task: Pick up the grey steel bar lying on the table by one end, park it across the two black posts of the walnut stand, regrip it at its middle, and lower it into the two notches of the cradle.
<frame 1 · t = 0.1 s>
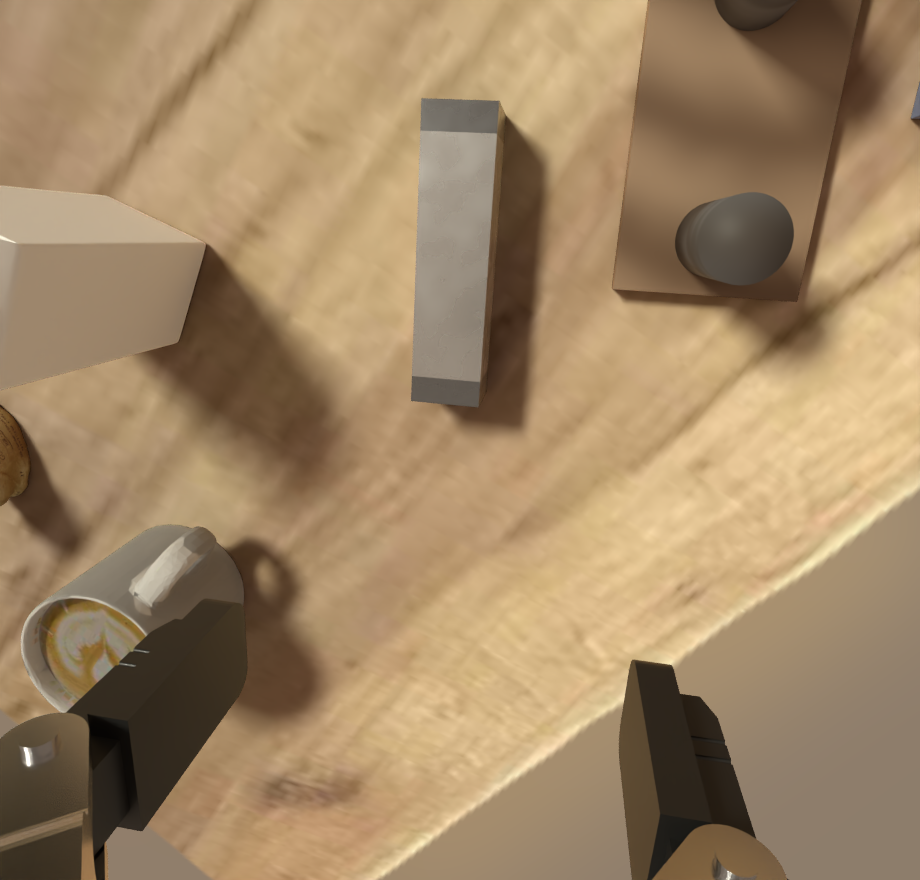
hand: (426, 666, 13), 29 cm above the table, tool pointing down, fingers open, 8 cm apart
milk carton: (147, 271, 42), on the table
coffee mug: (198, 570, 49), on the table
steel bar: (462, 260, 39), on the table
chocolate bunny: (5, 451, 48), on the table
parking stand: (727, 123, 34), on the table
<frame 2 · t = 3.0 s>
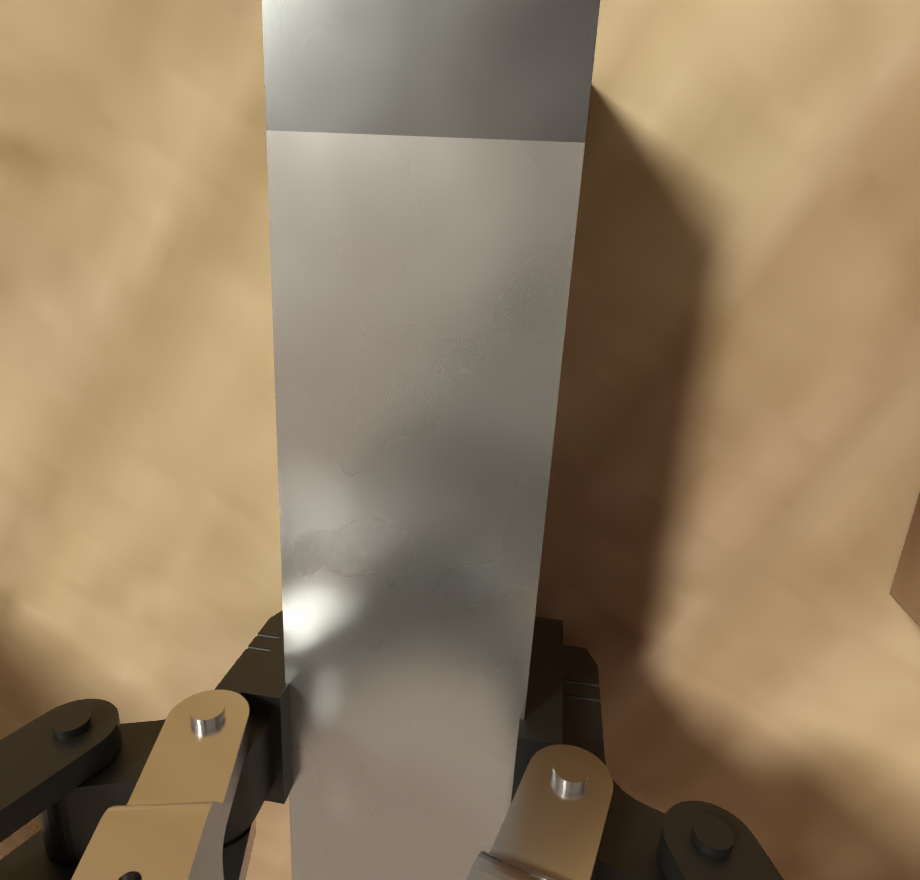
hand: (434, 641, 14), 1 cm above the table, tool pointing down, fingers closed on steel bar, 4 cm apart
steel bar: (449, 498, 14), on the table, touching gripper
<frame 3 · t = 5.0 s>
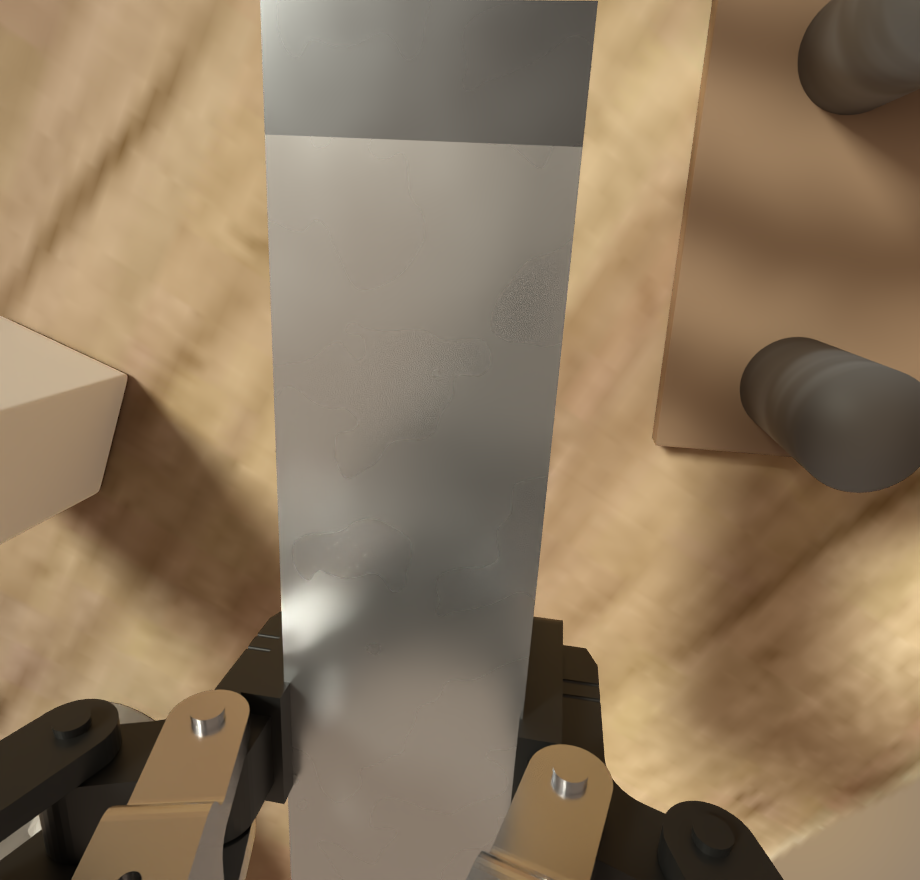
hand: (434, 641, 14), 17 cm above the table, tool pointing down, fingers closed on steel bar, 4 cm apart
milk carton: (57, 405, 33), on the table
coffee mug: (137, 752, 40), on the table
steel bar: (448, 500, 14), point 16 cm above the table, touching gripper
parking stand: (811, 232, 25), on the table
when the fingers open (10 cm above the table, at t = 7.4 s): steel bar drops 1 cm, resting on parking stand.
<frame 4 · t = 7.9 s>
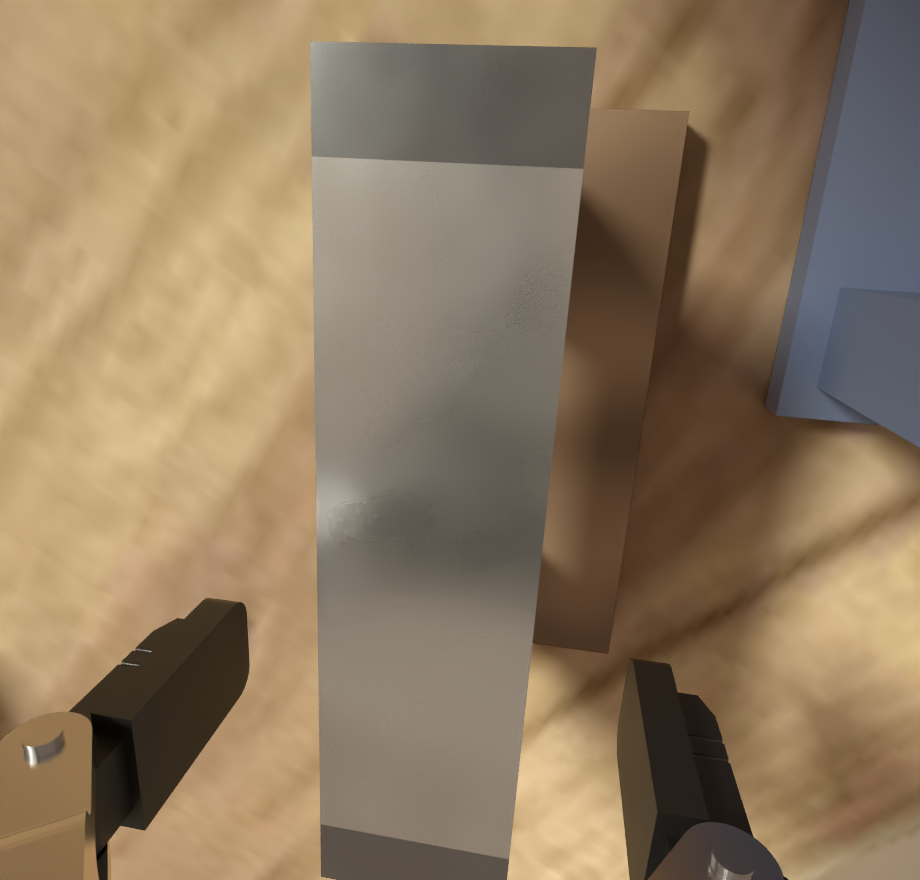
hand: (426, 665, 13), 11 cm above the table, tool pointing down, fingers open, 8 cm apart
steel bar: (460, 481, 15), point 8 cm above the table, touching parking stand
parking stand: (494, 396, 23), on the table
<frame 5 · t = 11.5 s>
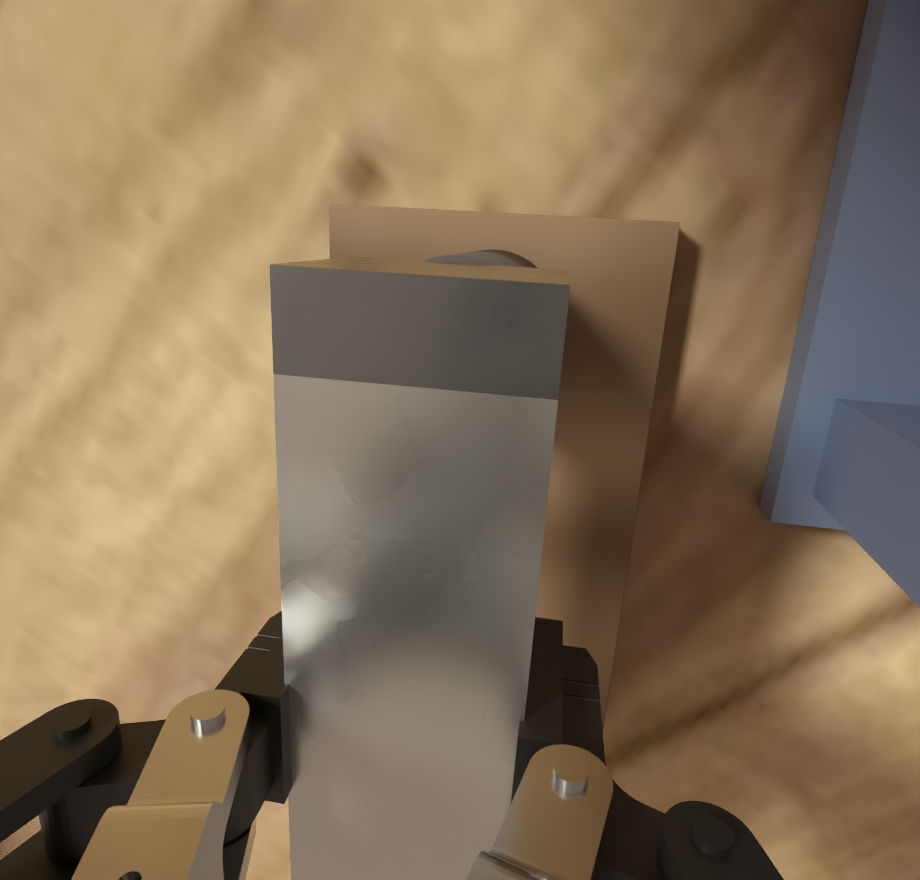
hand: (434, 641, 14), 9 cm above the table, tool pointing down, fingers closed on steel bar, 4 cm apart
steel bar: (442, 627, 15), point 8 cm above the table, touching gripper, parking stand
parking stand: (482, 490, 22), on the table
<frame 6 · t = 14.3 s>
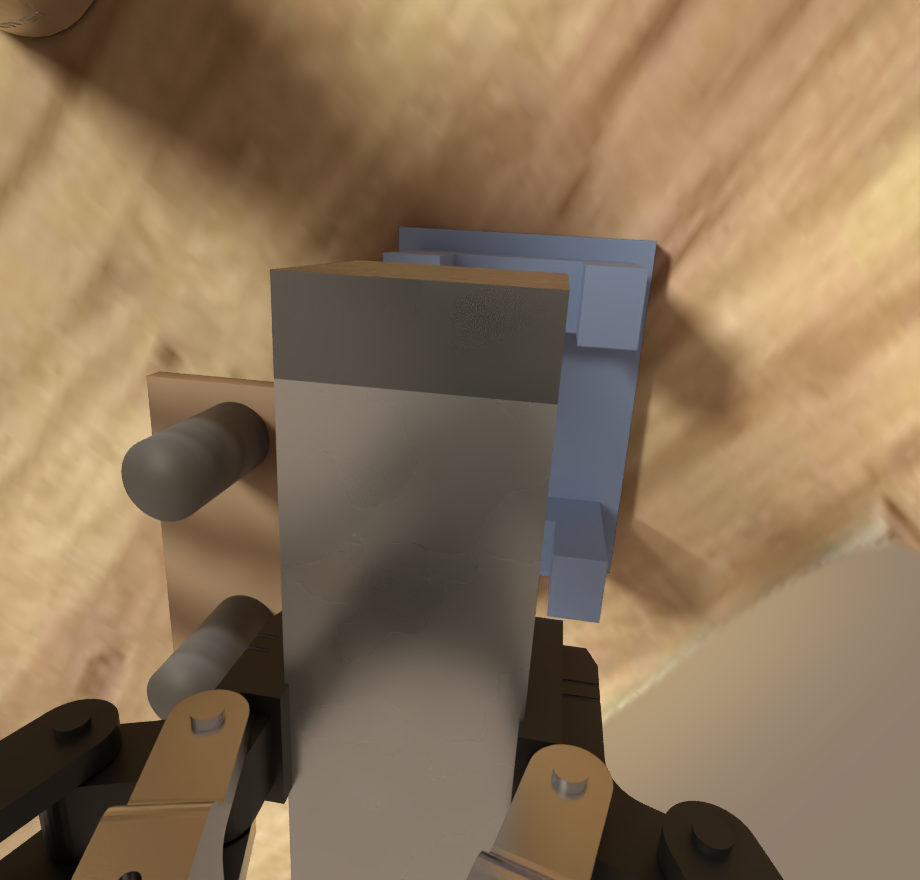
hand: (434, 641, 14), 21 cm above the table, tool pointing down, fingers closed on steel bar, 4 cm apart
notched cradle: (512, 403, 34), on the table
steel bar: (442, 629, 15), point 20 cm above the table, touching gripper
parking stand: (250, 526, 38), on the table
when the fingers open (6 cm above the table, at t = 17.3 s): steel bar drops 1 cm, resting on notched cradle.
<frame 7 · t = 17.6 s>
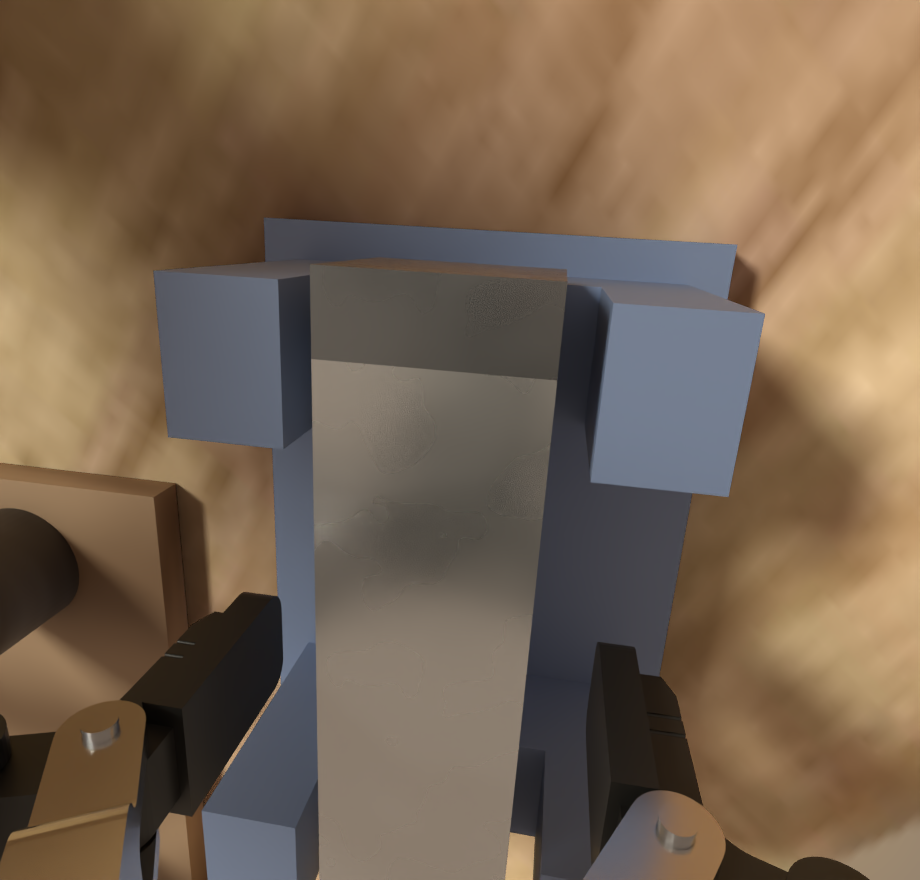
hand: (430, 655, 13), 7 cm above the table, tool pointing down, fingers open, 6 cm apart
notched cradle: (474, 518, 20), on the table
steel bar: (451, 594, 16), point 4 cm above the table, touching notched cradle
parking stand: (73, 686, 25), on the table
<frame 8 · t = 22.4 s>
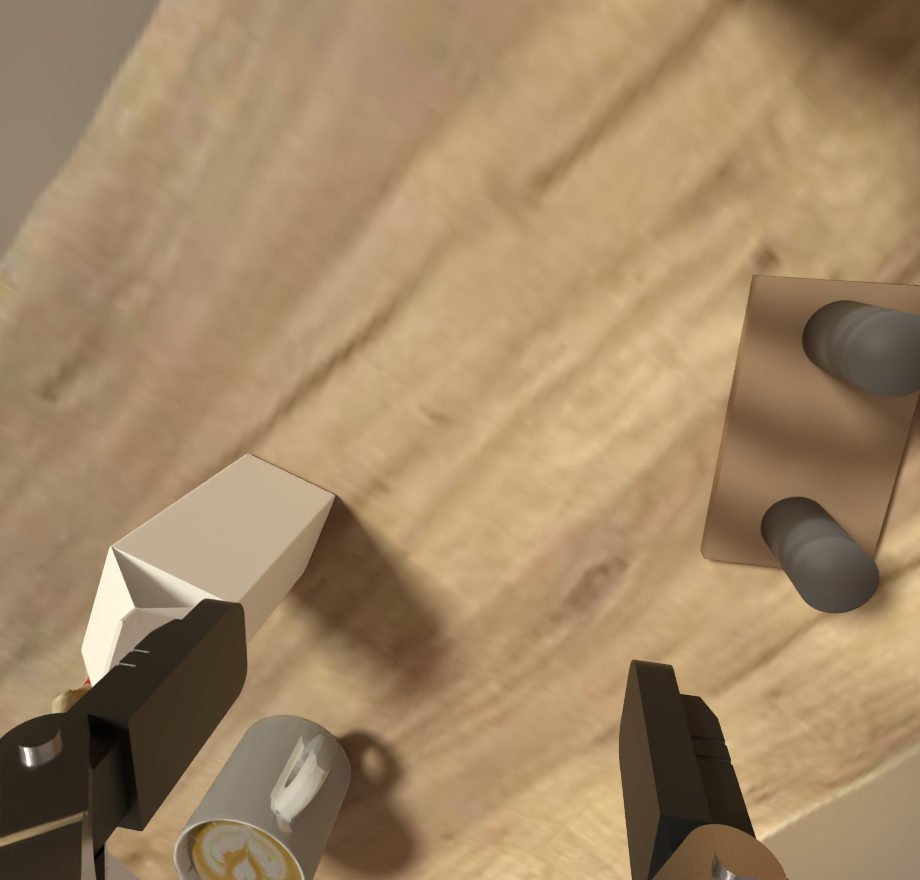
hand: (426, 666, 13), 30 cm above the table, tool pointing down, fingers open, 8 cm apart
milk carton: (278, 511, 47), on the table
coffee mug: (309, 752, 54), on the table
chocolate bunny: (136, 646, 54), on the table
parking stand: (808, 429, 40), on the table
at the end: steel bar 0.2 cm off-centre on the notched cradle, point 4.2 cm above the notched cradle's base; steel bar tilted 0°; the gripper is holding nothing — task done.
